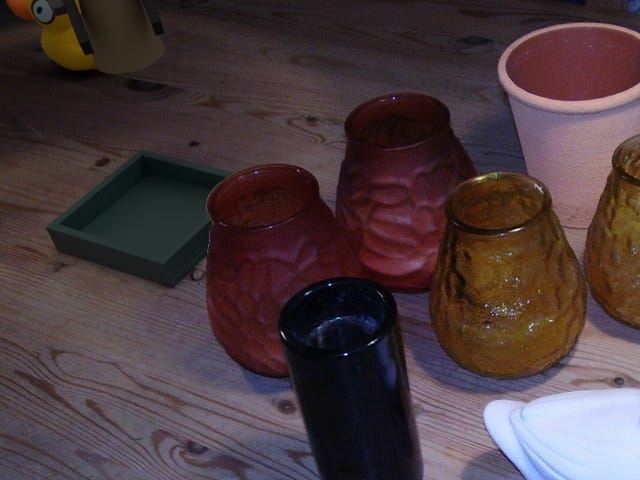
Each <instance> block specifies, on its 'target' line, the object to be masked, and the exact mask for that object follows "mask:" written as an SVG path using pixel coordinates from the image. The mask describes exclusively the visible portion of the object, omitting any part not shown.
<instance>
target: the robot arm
mask: <svg viewBox="0 0 640 480" xmlns="http://www.w3.org/2000/svg"><path fill="white" fill-rule="evenodd" d="M141 1H142V3H143V5H144V7H145V9H146V12H147V14H148V17H149V20H150V22H151V25H152V28H153V30H154V33H155V36H158V35H159V36H161V35H164V34H165V33H166V32H165V30H164V26H163V23H162V20H161V17H160V14H159V12H158V9H157V6H156V4H155V1H154V0H141ZM47 2H48V4H49V6H50V8H51V10H52V12H53V13H54V14H55V15H56V16H60V15H64V14H68V16H69V19H70V21H71V24H72V27H73V29H74V32H75V35H76V37H77V40H78V43H79V45H80V47H81V49H82V51H83V52H84V54H85V56H86V55H89V54H93V53H94V51H93V48H92V45H91V43H90V40H89V37H88V35H87V32H86V29H85V27H84V26H85V25H84V21H83V18H82V15H81V14H80V13H79V11H78V8H77V5H76V3H75V0H47Z"/></svg>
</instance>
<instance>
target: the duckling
mask: <svg viewBox="0 0 640 480" xmlns="http://www.w3.org/2000/svg"><path fill="white" fill-rule="evenodd" d="M5 1H6V4H7V6H8V8H9V9H10V10H11V11H12V13H13V14H14V15H16V16H17V17H18V18H21V19H22V20H26V21H36V23H38V24H39V25H40V26H41V27H42V28H43V30H42V32H41V37H40V44H41V48H42V49H43V52H44V53H45V55H46V56H47V57H48V58H49V59H51V60H52V61H53V62H54V63H56V64H58V65H60V66H61V67H63V68H65V69H67V70H70V71H74V72H81V71H91V70H98V69H97V68H96V67H95V64H94V60H93V56H92V54H89V55H86V56H85V54H84V52H83V51H82V49H81V47H80V45H79V43H78V40H77V37H76V35H75V32H74V29H73V27H72V24H71V21H70V19H69V16H68V14H64V15H60V16H56V15H55V14H54V13H53V12H52V10H51V8H50V6H49V4H48V2H47V0H5ZM75 3H76V5H77V8H78V11H79V13H80V15H82V14H81V10H80V6H79V2H78V0H75ZM84 27H85V25H84Z"/></svg>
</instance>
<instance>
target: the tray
mask: <svg viewBox="0 0 640 480" xmlns="http://www.w3.org/2000/svg"><path fill="white" fill-rule="evenodd" d="M233 173H234V172H232V171H228V170H224V169H219V168H216V167H212V166H209V165H204V164H200V163H196V162H192V161H189V160H185V159H180V158H177V157H173V156H169V155H165V154H162V153H157V152H153V151H149V150H146V149H142V148H141V149H140V150H138V151H137V152H136V153H134V154H133V155H132V156H131V157H130V158H128V159H127V160H126V161H125V162H124V163H122V164H121V165H120V166H118V167H117V168H116V169H115V170H113V171H112V172H111V173H110V174H108V175H107V176H106V177H105V178H104V179H102V180H101V182H99V183H98V184H97V185H95V186H94V187H92V188H91V189H90V190H89V191H88V192H86V193H85V194H84V195H83V196H81V198H79V199H78V200H77V201H75V203H73V204H71V206H70V207H68V208H67V209H66V210H65V211H63V212H62V213H61V214H59V216H57V217H56V218H55V219H54V220H52V221H51V222H50V223H48V224H47V225H46V226H45V229H46V231H47V233H48V236H49V237H50V239H51V241H52V243H53V245H54V246H55V247H54V248H55V249H56V250H57V251H59V252H61V253H65V254H68V255H72V256H74V257H78V258H80V259H84V260H87V261H89V262H93V263H97V264H99V265H103V266H105V267H109V268H112V269H115V270H117V271H120V272H124V273H126V274H130V275H134V276H136V277H140V278H143V279H146V280H149V281H153V282H156V283H158V284H161V285H164V286H168V287H171V288H174V287H175V286H176V285H177V284H178V283H180V281H181V280H182V279H184V277H185V276H186V275H188V273H189V272H191V271H192V270H193V268H195V267H196V266H197V265H198V264H199V263H200V262H201V261H202V260H203V259H204V258H205V257H206V256H207V255H208V254H207V249H208V244H209V231H210V228H211V226H212V221H211V219H210V217H209V215H208V213H207V211H206V202H207V198H208V195H209V194H210V192H211V191H212V189H213V188H214V187H215V186H216V185H217V184H218V183H219V182H221V181H222V180H224V179H225V178H226V177H228V176H229V175H231V174H233ZM206 254H207V255H206Z"/></svg>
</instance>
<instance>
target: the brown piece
mask: <svg viewBox="0 0 640 480" xmlns="http://www.w3.org/2000/svg"><path fill="white" fill-rule="evenodd" d="M78 2H79V6H80V10H81V14H80V15H81V18H82V21H83V24H84V26H85V29H86V32H87V35H88V37H89V40H90V43H91V45H92V48H93V51H94V53H93V54H92V56H93V60H94V64H95V67H96V68H97V69H96V70H98V71H99V72H100V73H105V74H109V75H122V74H130V73H134V72H137V71H140V70H143V69H145V68H148V67H149V66H151V65H153V64H154V63H157V61H159V60H160V59H161V58H162V56H163V55H164V54H165V50H166V47H165V45H164V43H163V40H162V39H161V37H160V35H158V36H155V33H154V30H153V28H152V25H151V22H150V20H149V17H148V14H147V12H146V9H145V6H144V4H143V1H142V0H78Z"/></svg>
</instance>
